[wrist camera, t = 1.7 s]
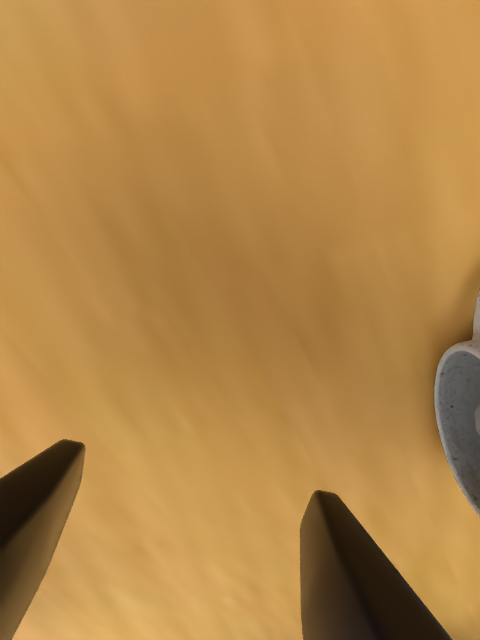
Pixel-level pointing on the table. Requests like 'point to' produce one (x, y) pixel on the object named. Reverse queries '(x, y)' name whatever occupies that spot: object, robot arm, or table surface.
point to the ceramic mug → (461, 411)
